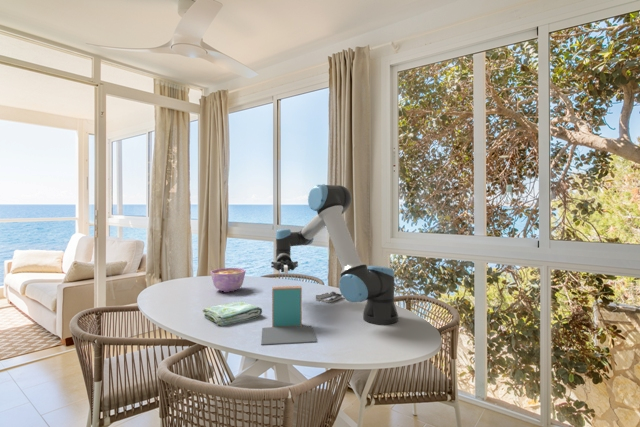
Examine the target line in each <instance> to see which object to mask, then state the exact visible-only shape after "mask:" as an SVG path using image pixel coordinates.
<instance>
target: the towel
mask: <svg viewBox="0 0 640 427" xmlns="http://www.w3.org/2000/svg"><path fill="white" fill-rule="evenodd" d="M202 312H203V314H204V318H207V319H208V320H210V321H211V322H214V323H215V324H216V325H217V326H222V327H223V326H226V325H231V324H235V323H240V322H244V321H248V320H253V319H256V318H258V317H259V316H261V315H262V313H263V309H262V308H261V307H260V306H256V305H253V304H251V303H248V302H243V301H234V302H230V303H225V304H224V303H223V304H219V305H214V306H209V307H206V308H204V309H203V310H202Z"/></svg>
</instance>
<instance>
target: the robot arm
mask: <svg viewBox="0 0 640 427" xmlns="http://www.w3.org/2000/svg"><path fill="white" fill-rule="evenodd" d="M352 201H353V197H352V193H351V192H350V190H349V189H348V188H347V187H345V186H343V185H341V184H340V185H338V184H337V185H336V184H331V185H330V184H325V183H323V184H316V185H314V186H313V187H312V188H311V189H310V190H309V193H308V197H307V203H308V207H309V209H311V210H312V211H314V212H316V213H317V214H316V215H315V216H314V217H312V219H311V220H310V221H309V222H308V223H307V224H306V225H304V227H303V228H302V229H300V231H293V232H292V231H291V229H289V228H279V229H277V230H276V233H275V243H276V244H275V245H276V246H275V247H276V250H275V255H276V256H275V261H271V262H270V264H271V268H272V269H274V270H276V271H281V272H280V273H283V274H285V275H288V273H289V271H294V270H295V269H296V268H298V267H299V262H298V261H294V260H293V261H292V258H291V251H292V250H291V247H298V246H308V245H311V244H312V243H313V241H314V238H315V236H317V235H318V234H319V233H320V232H322V230H323V229H325V228H326V230H327V232H328V235H329V238H330V241H331V243H332V246H333V249H334V250H335V254H336V257H337V259H338V261H339V263H340V266H341V272H340V273H339V274H340V279H339V280H338V283H339V284H338V287H339V288H338V289H339V291H340V293H341V294H342V298H344V299H345V300H346V301H348V302H350V303H363V302H364V301H366V304H365V307H364V311H363V314H362V316H363V317H362V318H363V320H364V321H365V322H367V323H370V324H376V325H392V324H395V323H397V322H398V321H399V314H398V311H397V307H396V304H395V270H394V269H393V268H391V267H388V266H379V265H367V264H366V263H365V262H362V260H361V258H360V255H359V252H358V250H357V249H356V245H355V243H354V240H353V238H352V235H351V233H350V231H349V228H348V225H347V223H346V220H345V218H344V216H343V214H344V213H345V212H347V210H349V208H350V206H351V204H352Z"/></svg>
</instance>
